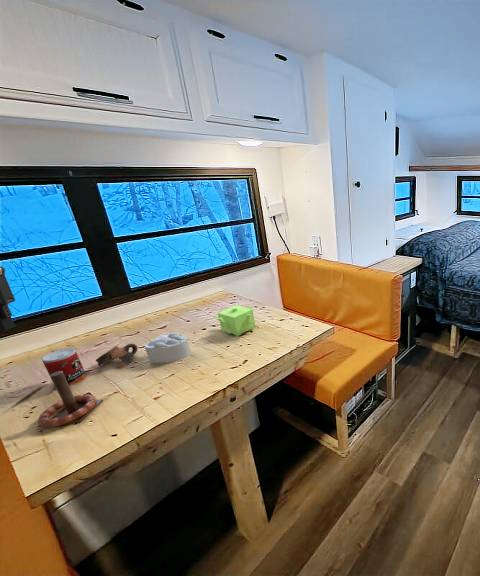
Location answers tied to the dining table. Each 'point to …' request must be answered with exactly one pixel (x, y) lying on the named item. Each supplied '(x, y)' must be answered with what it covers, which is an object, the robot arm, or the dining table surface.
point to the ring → (47, 422)
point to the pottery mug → (119, 355)
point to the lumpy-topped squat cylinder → (168, 348)
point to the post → (68, 398)
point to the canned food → (65, 365)
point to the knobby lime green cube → (236, 320)
